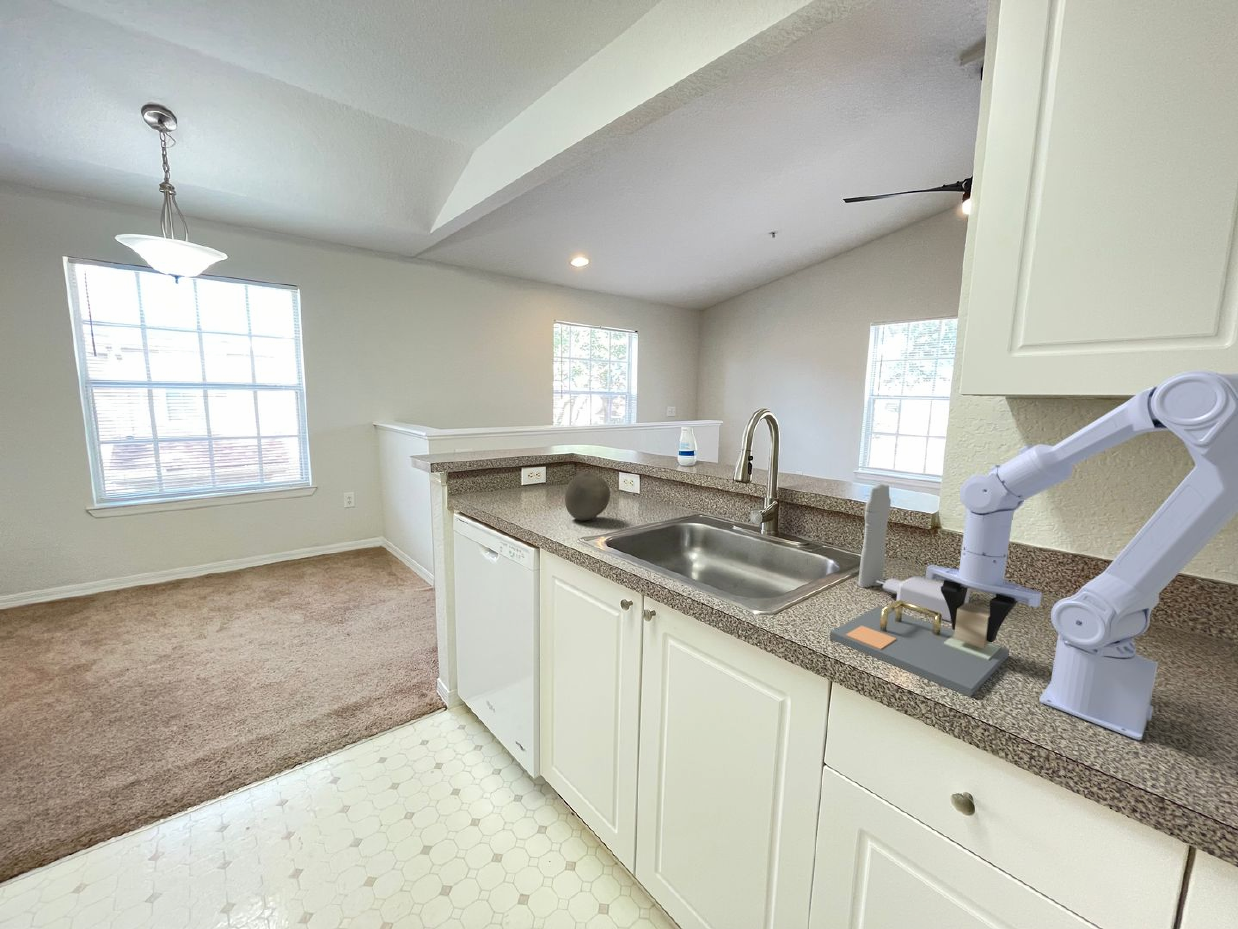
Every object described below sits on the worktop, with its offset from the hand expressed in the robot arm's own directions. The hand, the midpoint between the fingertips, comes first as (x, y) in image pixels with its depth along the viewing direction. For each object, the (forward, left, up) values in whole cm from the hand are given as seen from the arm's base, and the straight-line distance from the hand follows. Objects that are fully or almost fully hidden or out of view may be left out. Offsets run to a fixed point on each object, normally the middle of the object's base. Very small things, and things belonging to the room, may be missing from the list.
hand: (973, 634), depth 78 cm
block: (0, 0, -1) cm, 1 cm away
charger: (+14, -15, -4) cm, 20 cm away
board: (+6, +5, -3) cm, 9 cm away
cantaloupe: (+103, +3, -4) cm, 103 cm away
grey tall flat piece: (+24, -18, -4) cm, 31 cm away
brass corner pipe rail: (+8, +3, -2) cm, 9 cm away
